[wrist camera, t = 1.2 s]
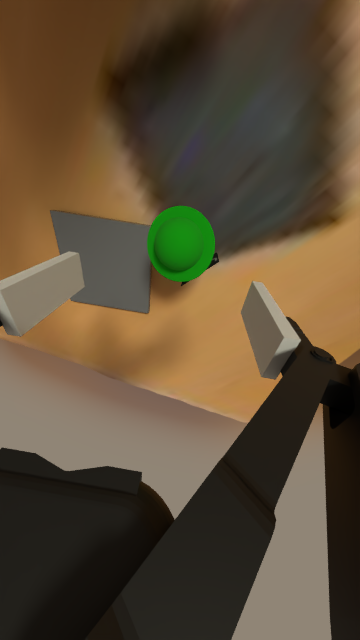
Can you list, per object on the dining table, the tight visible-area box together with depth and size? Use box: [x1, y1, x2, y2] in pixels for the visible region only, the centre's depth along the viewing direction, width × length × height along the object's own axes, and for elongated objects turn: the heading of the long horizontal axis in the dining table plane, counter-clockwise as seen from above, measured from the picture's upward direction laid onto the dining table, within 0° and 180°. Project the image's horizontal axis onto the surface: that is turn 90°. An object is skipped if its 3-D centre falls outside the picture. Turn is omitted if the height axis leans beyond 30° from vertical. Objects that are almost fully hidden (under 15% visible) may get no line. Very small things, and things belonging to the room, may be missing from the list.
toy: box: [147, 206, 219, 286], centre depth 27 cm, size 9×9×15 cm
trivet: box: [50, 210, 152, 313], centre depth 38 cm, size 18×18×1 cm
